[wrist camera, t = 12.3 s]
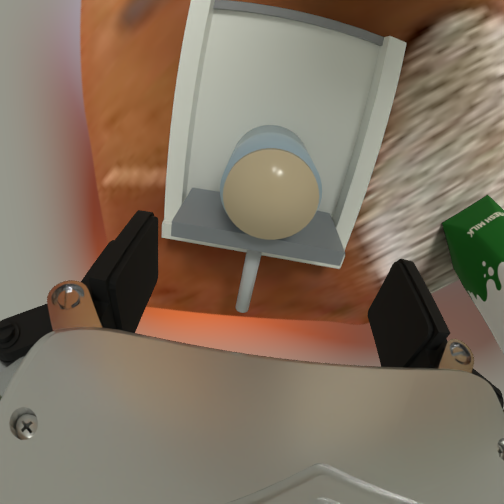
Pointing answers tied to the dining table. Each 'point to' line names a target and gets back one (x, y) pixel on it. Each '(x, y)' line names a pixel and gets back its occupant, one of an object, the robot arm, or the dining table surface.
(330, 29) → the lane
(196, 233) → the pusher
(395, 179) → the dining table surface
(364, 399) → the robot arm
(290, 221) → the glazed jar
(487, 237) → the milk carton
